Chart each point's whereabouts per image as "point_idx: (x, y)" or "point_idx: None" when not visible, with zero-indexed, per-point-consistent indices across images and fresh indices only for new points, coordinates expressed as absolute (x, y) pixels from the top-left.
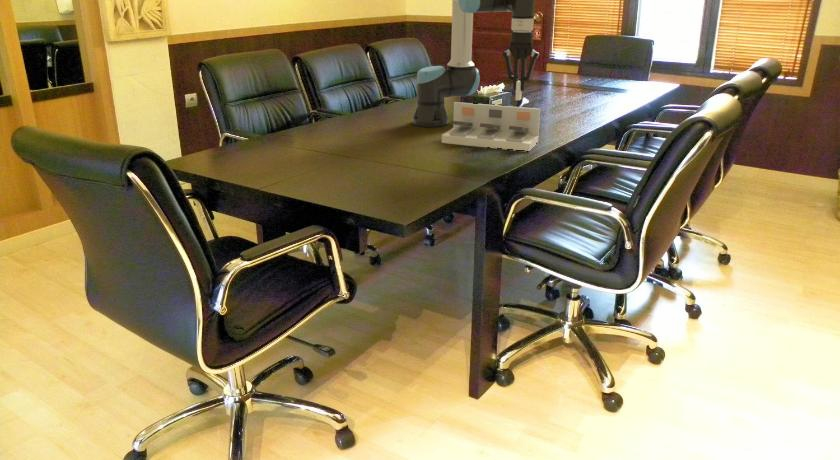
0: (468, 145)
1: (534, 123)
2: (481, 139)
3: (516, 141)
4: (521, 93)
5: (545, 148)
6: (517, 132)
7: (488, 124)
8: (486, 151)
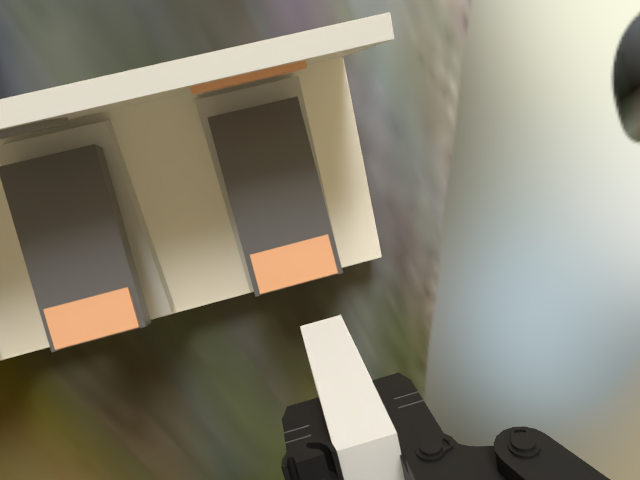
0: None
1: (330, 57)
2: None
3: None
4: (355, 347)
5: (411, 136)
6: None
7: (112, 335)
8: (194, 359)
